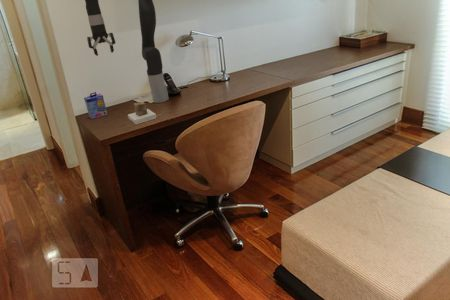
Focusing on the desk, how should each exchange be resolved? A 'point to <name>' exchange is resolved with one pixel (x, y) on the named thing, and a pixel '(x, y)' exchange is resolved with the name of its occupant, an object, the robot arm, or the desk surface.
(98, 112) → the ink cartridge box
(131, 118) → the riser
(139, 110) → the block
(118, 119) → the desk surface
